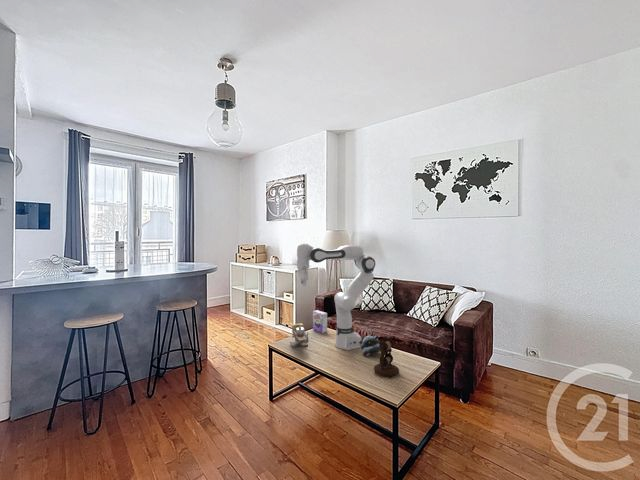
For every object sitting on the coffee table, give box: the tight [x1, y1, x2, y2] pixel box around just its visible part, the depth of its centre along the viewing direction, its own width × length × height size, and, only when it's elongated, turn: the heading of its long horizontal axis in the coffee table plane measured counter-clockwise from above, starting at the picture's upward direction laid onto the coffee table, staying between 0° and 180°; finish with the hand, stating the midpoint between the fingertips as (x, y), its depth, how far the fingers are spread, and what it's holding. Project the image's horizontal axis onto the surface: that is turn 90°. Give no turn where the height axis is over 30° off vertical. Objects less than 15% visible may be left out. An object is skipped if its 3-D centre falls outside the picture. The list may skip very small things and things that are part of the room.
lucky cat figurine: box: [359, 333, 381, 357], centre depth 209 cm, size 15×12×14 cm
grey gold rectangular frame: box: [289, 322, 310, 349], centre depth 221 cm, size 12×25×14 cm, turn 13°
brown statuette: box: [373, 337, 400, 379], centre depth 179 cm, size 15×15×20 cm
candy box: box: [312, 309, 328, 334], centre depth 258 cm, size 14×6×16 cm, turn 37°
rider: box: [296, 326, 305, 335], centre depth 220 cm, size 5×5×5 cm
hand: (303, 284), depth 216 cm, fingers open, 8 cm apart
